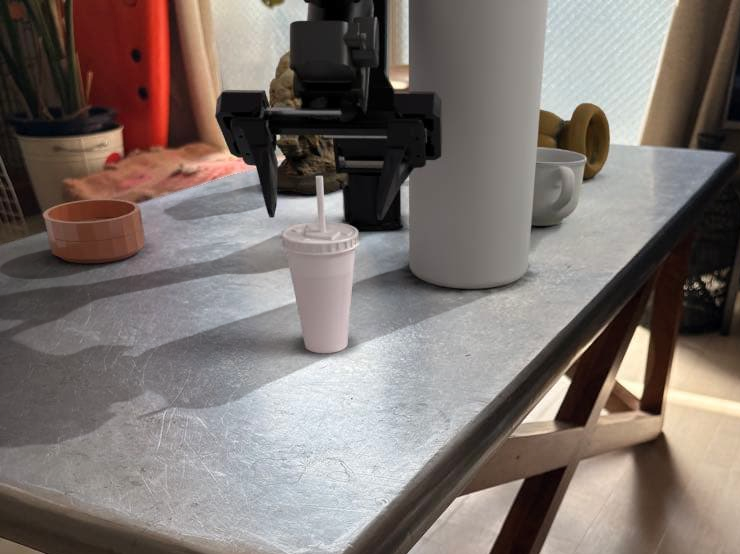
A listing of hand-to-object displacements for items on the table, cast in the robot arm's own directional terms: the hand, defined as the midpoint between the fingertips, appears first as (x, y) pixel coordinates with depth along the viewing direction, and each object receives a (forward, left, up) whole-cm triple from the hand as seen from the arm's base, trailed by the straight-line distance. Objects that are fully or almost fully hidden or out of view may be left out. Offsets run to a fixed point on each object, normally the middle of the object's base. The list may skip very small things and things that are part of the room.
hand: (324, 216), depth 73 cm
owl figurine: (-1, -58, -10) cm, 59 cm away
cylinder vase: (-15, -15, -10) cm, 24 cm away
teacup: (-27, -32, -10) cm, 44 cm away
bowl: (+25, -28, -10) cm, 39 cm away
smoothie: (+1, +3, -10) cm, 11 cm away
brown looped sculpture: (-30, -59, -10) cm, 67 cm away
